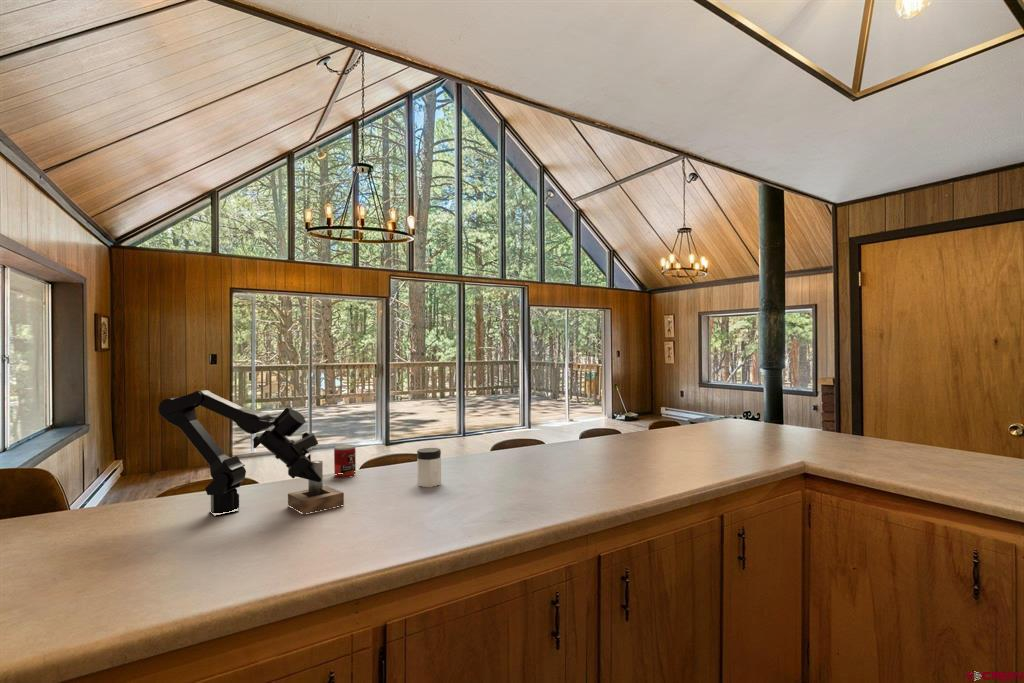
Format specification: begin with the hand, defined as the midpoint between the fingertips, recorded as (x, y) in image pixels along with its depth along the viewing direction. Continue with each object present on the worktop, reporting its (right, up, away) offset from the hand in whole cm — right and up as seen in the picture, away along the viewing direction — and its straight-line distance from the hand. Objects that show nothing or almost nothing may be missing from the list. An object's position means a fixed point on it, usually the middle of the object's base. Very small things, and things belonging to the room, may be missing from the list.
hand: (320, 479), depth 151 cm
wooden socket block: (-1, -8, -1) cm, 8 cm away
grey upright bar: (-1, -7, -1) cm, 7 cm away
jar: (+29, -8, +22) cm, 38 cm away
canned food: (-5, -9, +37) cm, 39 cm away
